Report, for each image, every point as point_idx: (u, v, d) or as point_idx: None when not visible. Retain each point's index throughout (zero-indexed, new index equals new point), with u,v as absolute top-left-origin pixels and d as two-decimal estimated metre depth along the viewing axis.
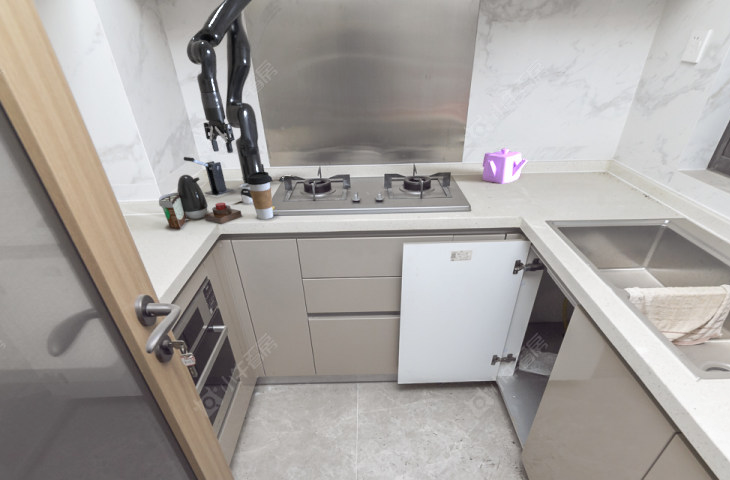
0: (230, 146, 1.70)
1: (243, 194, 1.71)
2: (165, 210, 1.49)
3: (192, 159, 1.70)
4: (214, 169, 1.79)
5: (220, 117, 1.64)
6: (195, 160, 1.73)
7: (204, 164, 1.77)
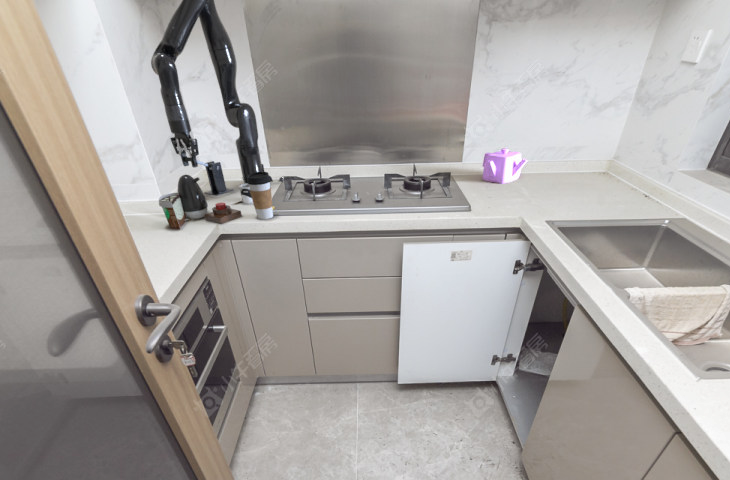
0: (195, 160, 1.70)
1: (243, 194, 1.71)
2: (165, 210, 1.49)
3: None
4: (214, 169, 1.79)
5: (185, 129, 1.63)
6: None
7: (204, 164, 1.77)
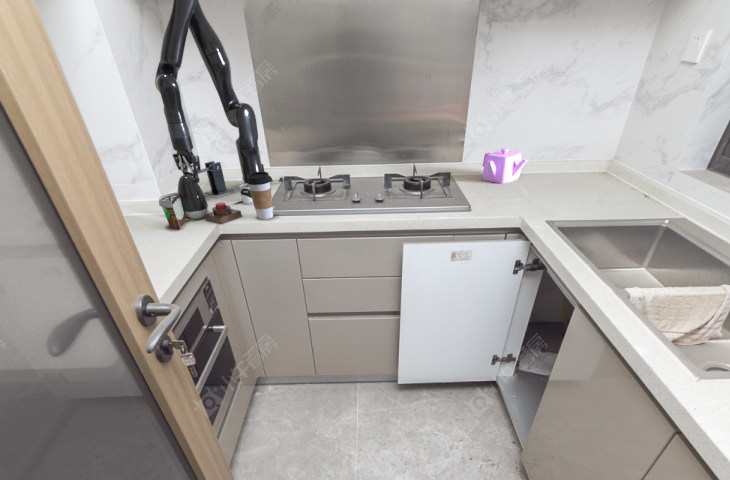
0: (196, 177, 1.72)
1: (243, 194, 1.71)
2: (165, 210, 1.49)
3: None
4: (214, 169, 1.79)
5: (187, 147, 1.66)
6: None
7: (205, 170, 1.78)
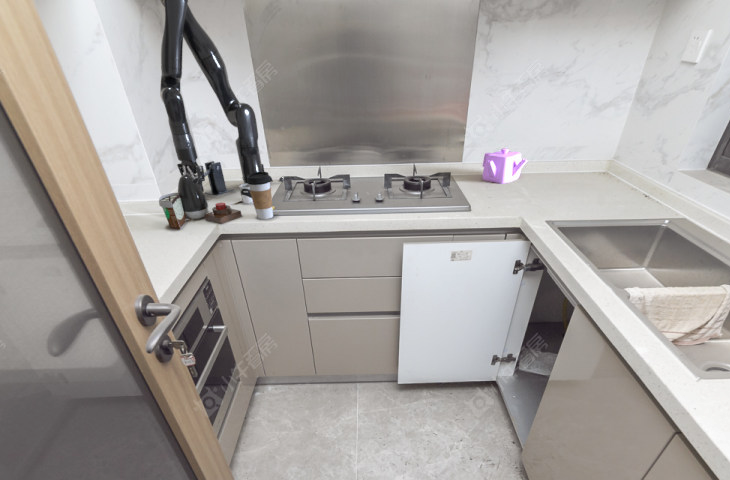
0: (201, 186, 1.75)
1: (243, 194, 1.71)
2: (165, 210, 1.49)
3: None
4: (214, 169, 1.79)
5: (192, 157, 1.68)
6: None
7: (206, 174, 1.79)
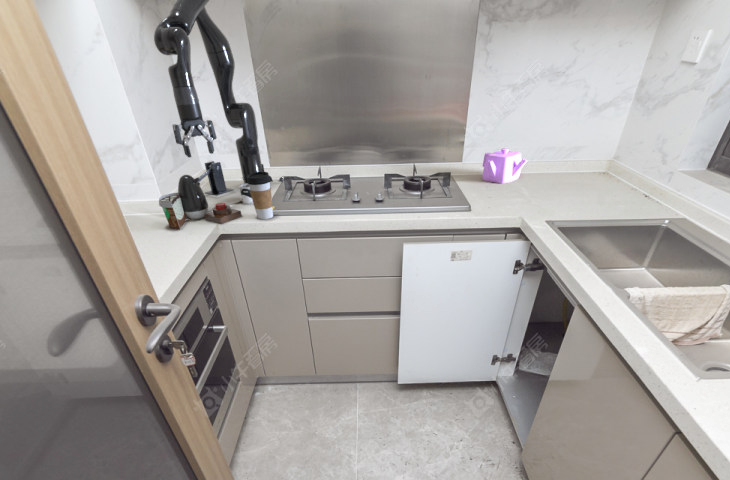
0: None
1: (243, 194, 1.71)
2: (165, 210, 1.49)
3: None
4: (214, 169, 1.79)
5: None
6: None
7: (206, 174, 1.79)
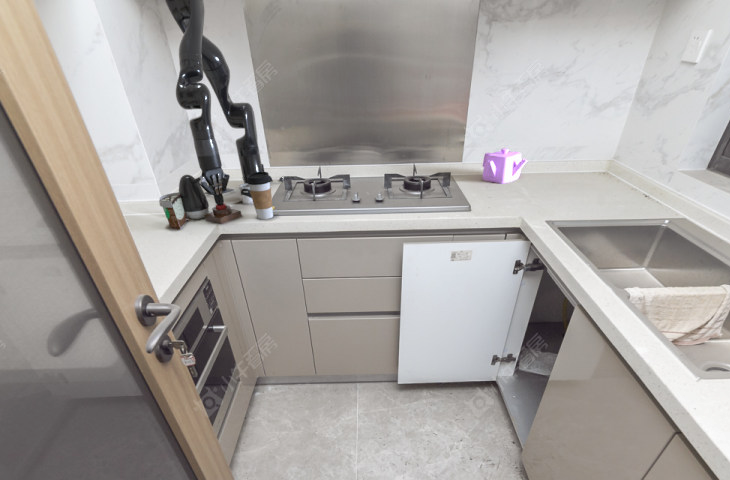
0: None
1: (243, 194, 1.71)
2: (165, 210, 1.49)
3: None
4: None
5: None
6: None
7: None
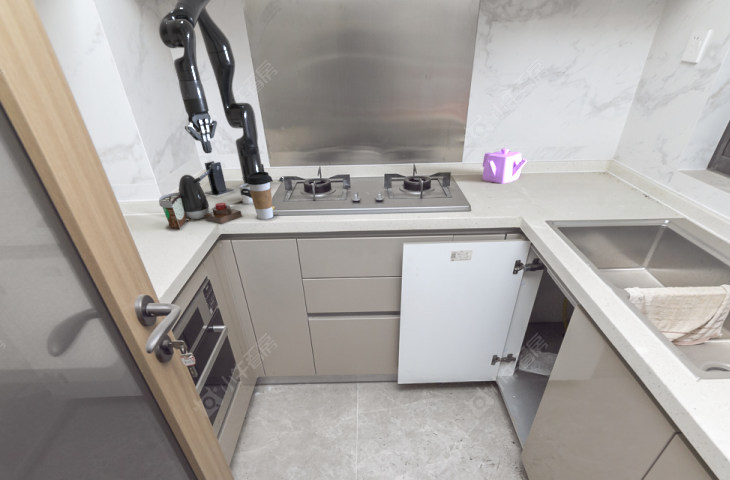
0: None
1: (243, 194, 1.71)
2: (165, 210, 1.49)
3: None
4: (214, 169, 1.79)
5: None
6: None
7: (206, 174, 1.79)
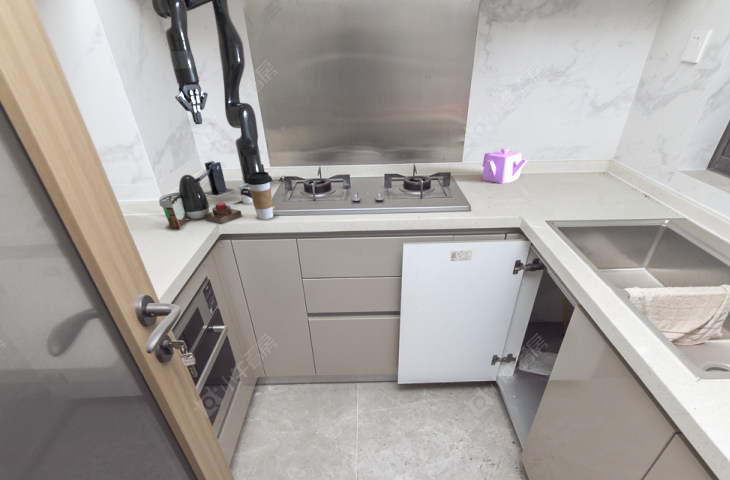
0: None
1: (243, 194, 1.71)
2: (165, 210, 1.49)
3: None
4: (214, 169, 1.79)
5: None
6: None
7: (206, 174, 1.79)
